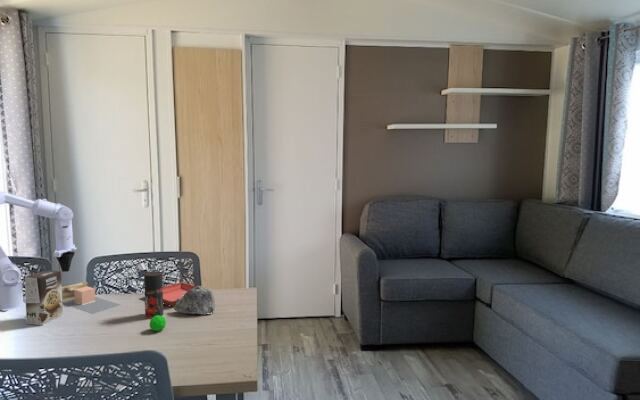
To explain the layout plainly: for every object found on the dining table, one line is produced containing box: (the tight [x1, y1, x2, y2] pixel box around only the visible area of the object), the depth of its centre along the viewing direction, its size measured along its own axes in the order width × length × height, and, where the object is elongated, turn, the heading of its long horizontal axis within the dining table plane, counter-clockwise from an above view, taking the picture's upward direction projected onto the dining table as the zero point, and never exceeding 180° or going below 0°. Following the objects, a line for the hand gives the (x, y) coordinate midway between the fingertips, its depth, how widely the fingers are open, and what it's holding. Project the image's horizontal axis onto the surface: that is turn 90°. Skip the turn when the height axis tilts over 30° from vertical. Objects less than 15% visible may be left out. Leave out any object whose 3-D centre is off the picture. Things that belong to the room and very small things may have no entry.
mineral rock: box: [172, 285, 216, 315], centre depth 158 cm, size 13×11×10 cm
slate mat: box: [62, 296, 121, 315], centre depth 165 cm, size 25×11×1 cm, turn 59°
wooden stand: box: [62, 281, 88, 302], centre depth 169 cm, size 6×11×5 cm, turn 149°
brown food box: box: [24, 270, 64, 326], centre depth 148 cm, size 9×6×16 cm
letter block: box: [74, 285, 96, 305], centre depth 165 cm, size 5×5×5 cm
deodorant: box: [143, 270, 164, 319], centre depth 154 cm, size 6×6×15 cm
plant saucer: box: [143, 282, 197, 307], centre depth 173 cm, size 18×18×3 cm
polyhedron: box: [149, 315, 167, 332], centre depth 141 cm, size 5×5×5 cm
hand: (65, 271), depth 171 cm, fingers closed
